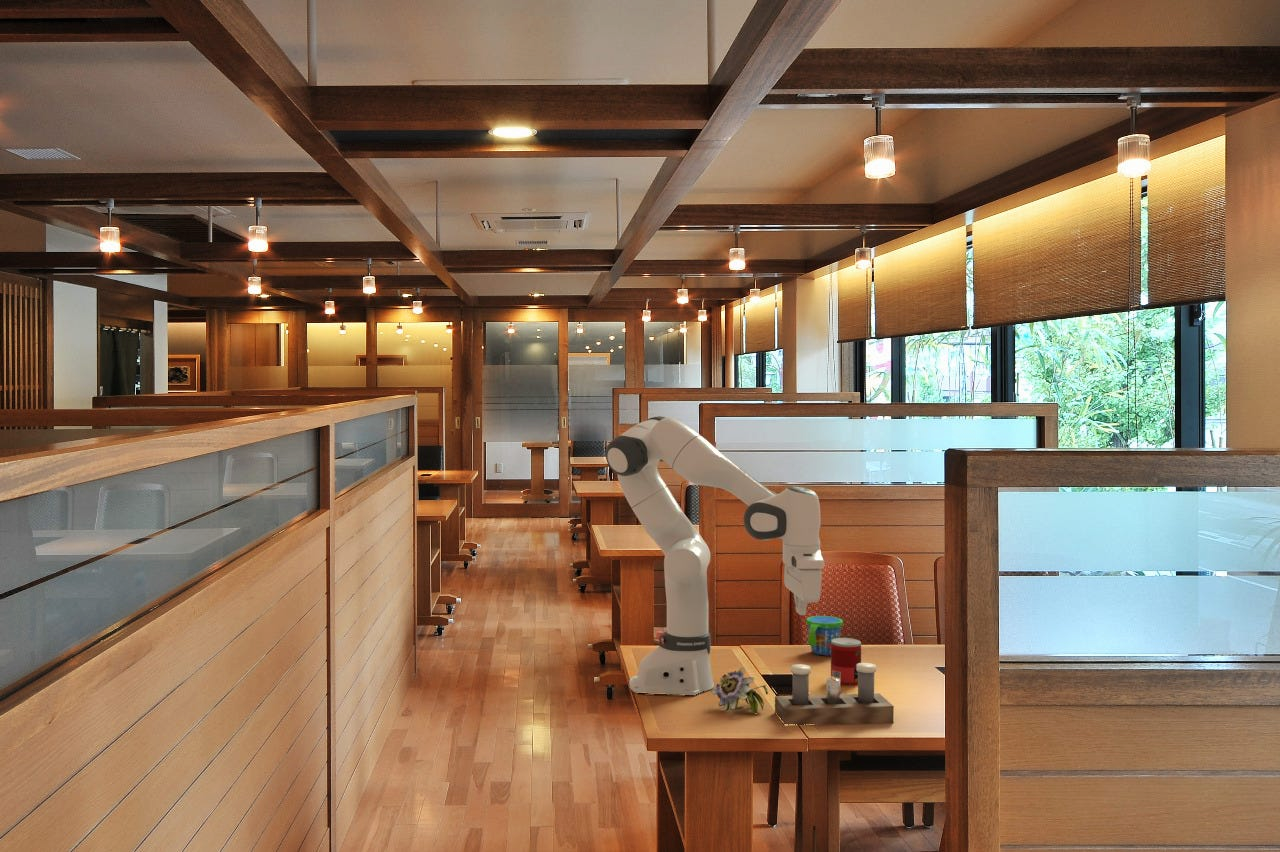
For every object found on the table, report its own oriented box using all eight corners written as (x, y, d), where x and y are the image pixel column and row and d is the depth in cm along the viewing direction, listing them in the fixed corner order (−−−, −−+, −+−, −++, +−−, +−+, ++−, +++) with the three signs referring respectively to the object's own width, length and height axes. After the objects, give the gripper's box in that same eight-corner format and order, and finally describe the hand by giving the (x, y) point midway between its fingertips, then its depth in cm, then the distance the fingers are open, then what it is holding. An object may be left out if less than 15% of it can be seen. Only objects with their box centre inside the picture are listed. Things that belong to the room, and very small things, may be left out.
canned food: (861, 686, 262) (861, 645, 261) (830, 684, 263) (830, 643, 263) (860, 678, 269) (861, 638, 269) (830, 676, 271) (831, 637, 270)
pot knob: (828, 706, 234) (828, 680, 234) (824, 702, 238) (825, 676, 237) (841, 706, 235) (842, 679, 235) (837, 702, 238) (838, 676, 238)
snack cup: (825, 645, 305) (825, 612, 305) (854, 651, 298) (854, 618, 297) (794, 654, 294) (794, 620, 294) (823, 661, 287) (823, 626, 286)
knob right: (859, 706, 234) (859, 668, 234) (853, 700, 239) (853, 662, 239) (878, 706, 235) (878, 667, 235) (872, 700, 239) (872, 662, 239)
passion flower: (726, 733, 241) (700, 689, 244) (752, 714, 249) (726, 672, 252) (754, 717, 234) (726, 672, 237) (780, 698, 242) (753, 655, 245)
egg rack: (784, 726, 230) (784, 709, 230) (774, 712, 240) (775, 696, 240) (893, 722, 233) (893, 706, 232) (879, 709, 242) (879, 693, 242)
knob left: (793, 708, 233) (793, 669, 233) (788, 702, 238) (788, 664, 237) (812, 708, 233) (812, 669, 233) (807, 702, 238) (807, 664, 238)
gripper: (778, 549, 244) (777, 604, 245) (799, 563, 224) (798, 623, 225) (803, 548, 245) (802, 604, 245) (826, 562, 225) (825, 623, 225)
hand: (801, 613), depth 235 cm, fingers closed
